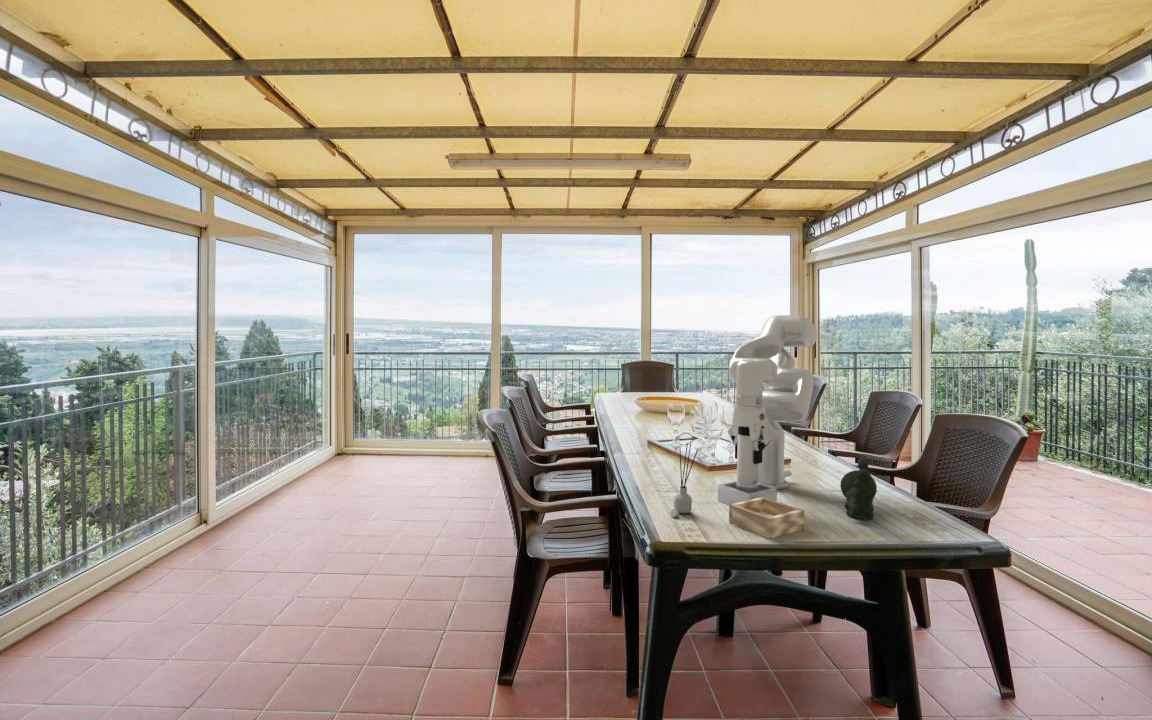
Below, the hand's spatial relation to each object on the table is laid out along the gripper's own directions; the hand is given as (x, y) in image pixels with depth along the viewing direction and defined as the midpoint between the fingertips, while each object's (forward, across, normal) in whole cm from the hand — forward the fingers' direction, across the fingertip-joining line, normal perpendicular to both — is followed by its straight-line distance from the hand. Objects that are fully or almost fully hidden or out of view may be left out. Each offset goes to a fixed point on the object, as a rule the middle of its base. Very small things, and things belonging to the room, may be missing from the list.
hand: (748, 460), depth 164 cm
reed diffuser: (+13, +2, +24) cm, 27 cm away
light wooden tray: (+13, -16, +12) cm, 24 cm away
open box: (+13, 0, +1) cm, 13 cm away
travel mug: (+9, 0, 0) cm, 9 cm away
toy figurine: (+13, -23, -19) cm, 33 cm away
